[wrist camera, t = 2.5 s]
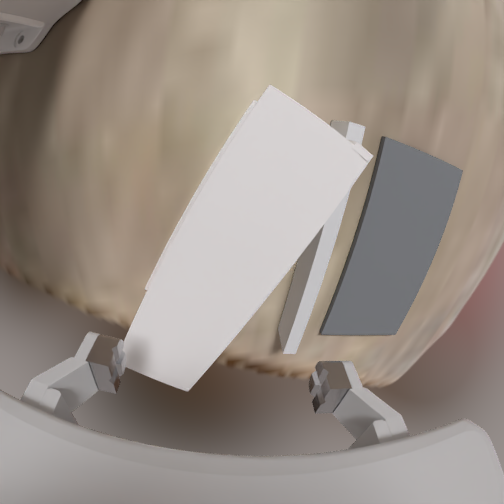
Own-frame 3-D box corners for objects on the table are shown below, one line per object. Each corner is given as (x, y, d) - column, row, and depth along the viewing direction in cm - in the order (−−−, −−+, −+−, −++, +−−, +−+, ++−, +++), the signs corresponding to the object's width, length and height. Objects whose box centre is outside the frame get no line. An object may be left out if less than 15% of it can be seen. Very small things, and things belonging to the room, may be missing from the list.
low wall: (277, 328, 28) (283, 353, 25) (331, 120, 19) (349, 121, 16) (289, 329, 28) (295, 353, 25) (345, 124, 19) (365, 126, 16)
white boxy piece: (255, 97, 18) (272, 80, 10) (316, 138, 20) (373, 156, 11) (141, 296, 25) (111, 371, 17) (192, 320, 27) (181, 399, 18)
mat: (319, 330, 28) (321, 334, 28) (382, 136, 20) (385, 136, 19) (393, 331, 30) (395, 334, 29) (459, 169, 21) (462, 170, 20)
